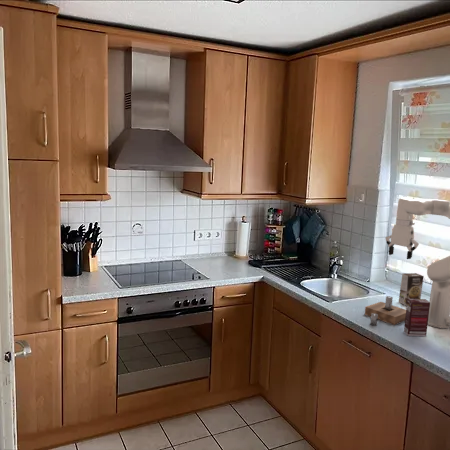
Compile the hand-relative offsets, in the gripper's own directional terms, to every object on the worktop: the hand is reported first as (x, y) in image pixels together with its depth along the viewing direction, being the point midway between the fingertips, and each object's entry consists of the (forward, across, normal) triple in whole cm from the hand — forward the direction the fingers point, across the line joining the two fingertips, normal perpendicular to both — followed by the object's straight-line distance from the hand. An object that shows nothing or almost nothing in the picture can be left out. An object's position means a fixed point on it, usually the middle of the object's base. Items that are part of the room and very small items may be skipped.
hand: (399, 256), depth 234 cm
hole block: (+28, -3, +11) cm, 31 cm away
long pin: (+28, -3, +11) cm, 31 cm away
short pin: (+28, -5, +26) cm, 39 cm away
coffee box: (+28, +1, -18) cm, 34 cm away
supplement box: (+28, -22, +20) cm, 41 cm away
